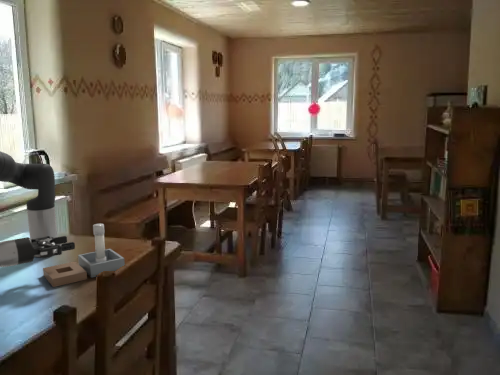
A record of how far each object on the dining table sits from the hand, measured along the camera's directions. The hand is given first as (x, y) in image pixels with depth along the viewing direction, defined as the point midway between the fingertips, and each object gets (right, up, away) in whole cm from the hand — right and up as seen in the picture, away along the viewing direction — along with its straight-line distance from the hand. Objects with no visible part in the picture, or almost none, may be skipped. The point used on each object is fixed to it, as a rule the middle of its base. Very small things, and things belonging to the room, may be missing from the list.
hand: (70, 242), depth 146 cm
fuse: (+7, -9, +7) cm, 13 cm away
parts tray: (+8, -10, +7) cm, 14 cm away
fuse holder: (-2, -11, -1) cm, 11 cm away
